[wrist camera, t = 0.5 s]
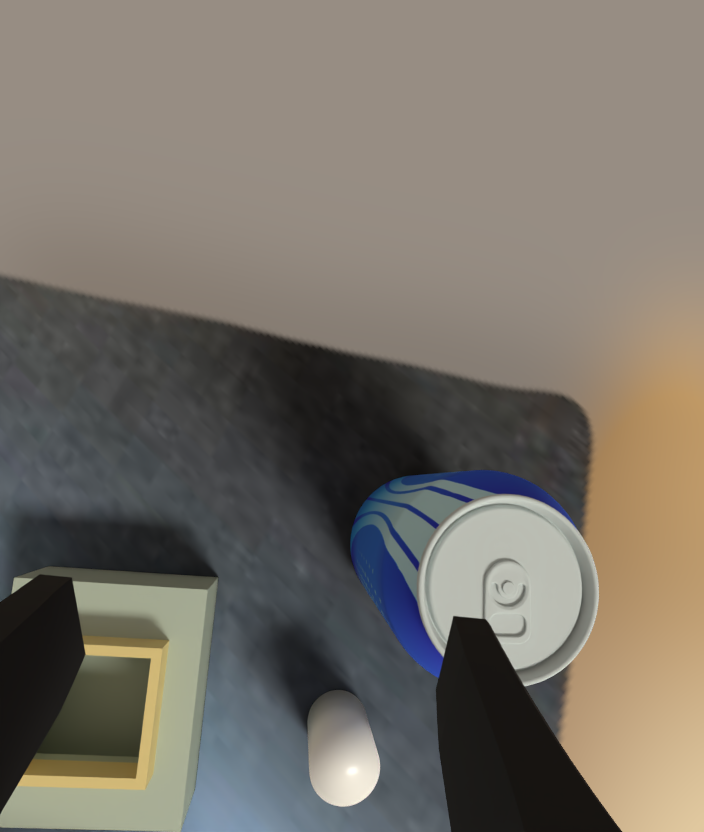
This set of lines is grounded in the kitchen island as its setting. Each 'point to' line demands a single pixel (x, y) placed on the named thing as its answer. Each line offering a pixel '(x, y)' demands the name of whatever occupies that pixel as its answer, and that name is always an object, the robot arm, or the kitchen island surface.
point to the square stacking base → (124, 707)
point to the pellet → (341, 749)
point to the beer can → (477, 567)
